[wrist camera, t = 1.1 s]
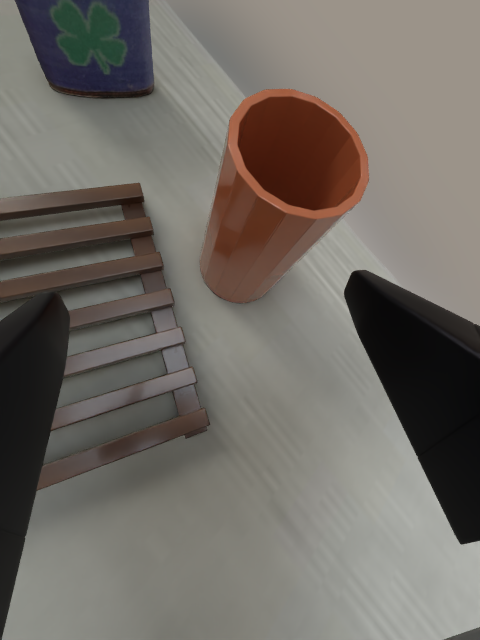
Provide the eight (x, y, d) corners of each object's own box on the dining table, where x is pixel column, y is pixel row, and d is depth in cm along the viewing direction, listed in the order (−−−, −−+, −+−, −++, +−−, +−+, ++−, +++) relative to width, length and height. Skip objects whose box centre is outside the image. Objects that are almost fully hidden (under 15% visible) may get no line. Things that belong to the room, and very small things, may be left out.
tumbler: (284, 293, 26) (390, 206, 13) (212, 311, 24) (257, 229, 11) (260, 225, 27) (338, 87, 14) (190, 238, 25) (208, 89, 12)
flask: (152, 75, 28) (140, -105, 17) (157, 100, 27) (147, -71, 17) (45, 69, 25) (-41, -145, 15) (49, 96, 25) (-38, -107, 14)
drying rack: (207, 426, 21) (211, 431, 19) (-28, 515, 17) (-58, 535, 15) (141, 197, 24) (138, 178, 22) (-73, 224, 20) (-104, 203, 18)
